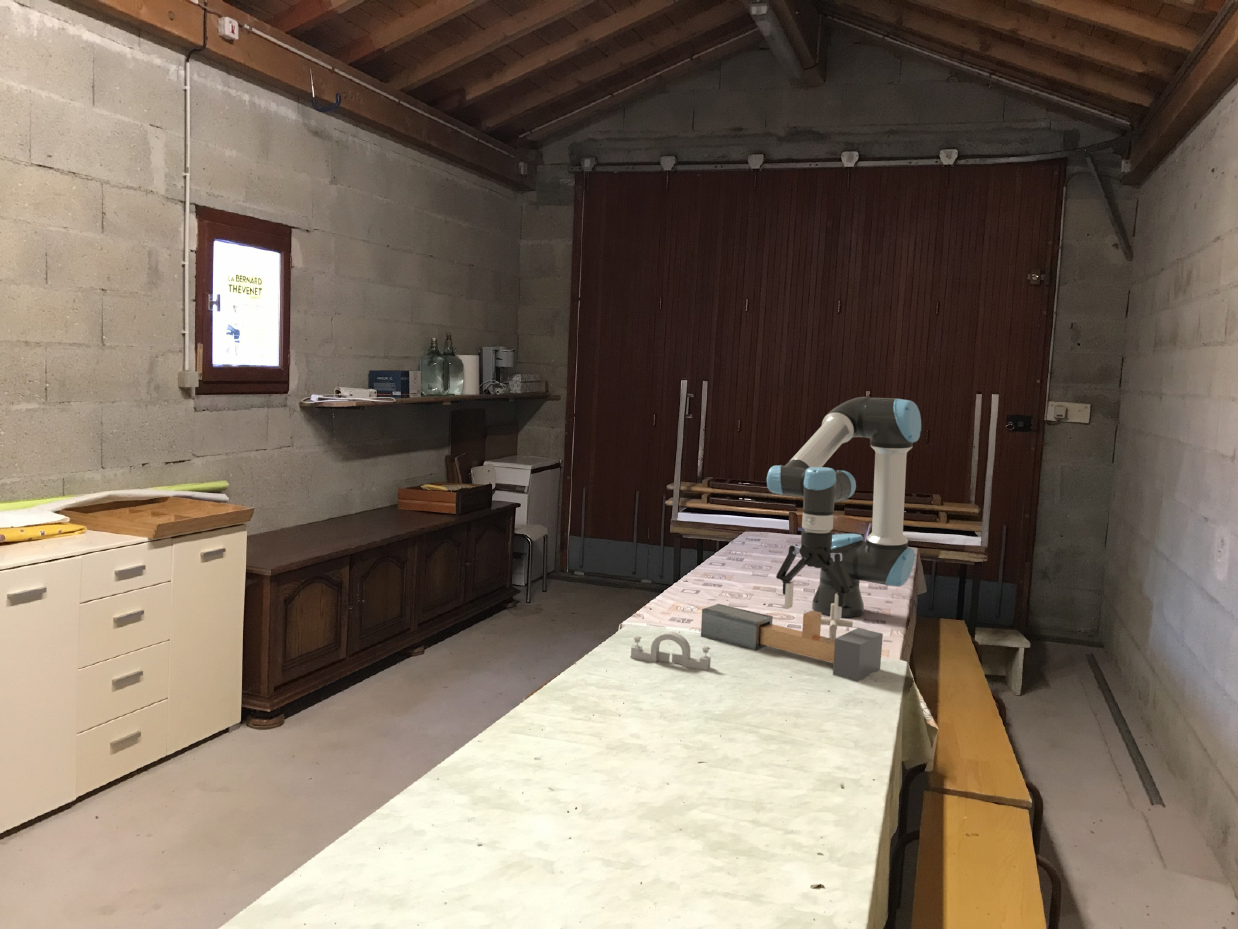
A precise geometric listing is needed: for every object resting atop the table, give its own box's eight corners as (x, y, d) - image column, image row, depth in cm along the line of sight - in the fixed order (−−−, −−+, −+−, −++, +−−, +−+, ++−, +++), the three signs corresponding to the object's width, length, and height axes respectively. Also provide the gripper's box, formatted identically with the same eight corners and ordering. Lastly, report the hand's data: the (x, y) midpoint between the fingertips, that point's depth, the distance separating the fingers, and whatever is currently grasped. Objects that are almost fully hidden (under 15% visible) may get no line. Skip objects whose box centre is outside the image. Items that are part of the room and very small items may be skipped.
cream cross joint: (851, 648, 251) (854, 610, 249) (813, 644, 253) (815, 607, 251) (850, 637, 260) (852, 601, 259) (813, 633, 262) (815, 598, 261)
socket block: (855, 663, 238) (858, 628, 237) (880, 669, 234) (882, 633, 233) (832, 674, 229) (835, 638, 228) (857, 681, 225) (860, 644, 224)
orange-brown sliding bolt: (754, 636, 252) (756, 598, 251) (860, 663, 233) (863, 621, 232) (745, 640, 249) (747, 601, 248) (852, 667, 230) (854, 625, 229)
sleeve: (717, 630, 262) (718, 603, 261) (771, 644, 251) (772, 616, 250) (700, 636, 256) (702, 609, 255) (755, 650, 245) (756, 622, 244)
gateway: (710, 669, 231) (711, 637, 230) (707, 672, 229) (709, 640, 228) (634, 657, 238) (635, 626, 237) (630, 660, 236) (632, 628, 235)
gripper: (765, 524, 241) (761, 606, 244) (857, 540, 225) (851, 627, 228) (780, 520, 247) (776, 600, 249) (870, 535, 231) (865, 620, 234)
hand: (812, 613), depth 239 cm, fingers open, 13 cm apart
